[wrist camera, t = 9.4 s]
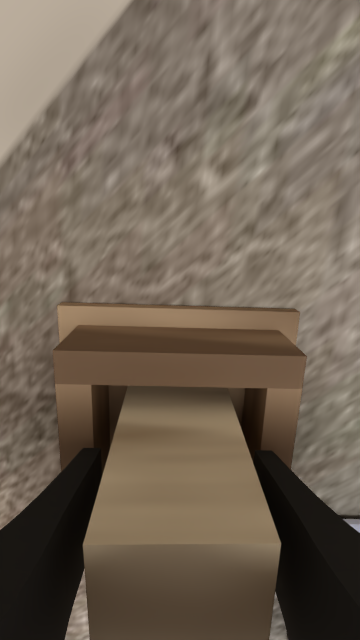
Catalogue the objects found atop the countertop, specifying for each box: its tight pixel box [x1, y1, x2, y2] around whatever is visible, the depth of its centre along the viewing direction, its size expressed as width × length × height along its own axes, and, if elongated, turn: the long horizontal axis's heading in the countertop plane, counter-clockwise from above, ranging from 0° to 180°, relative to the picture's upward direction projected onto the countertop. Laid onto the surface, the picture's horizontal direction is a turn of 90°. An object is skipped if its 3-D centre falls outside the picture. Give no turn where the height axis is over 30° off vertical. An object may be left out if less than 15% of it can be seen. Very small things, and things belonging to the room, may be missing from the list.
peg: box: [83, 386, 281, 640], centre depth 11 cm, size 4×4×8 cm
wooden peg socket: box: [53, 302, 307, 476], centre depth 14 cm, size 10×10×4 cm
